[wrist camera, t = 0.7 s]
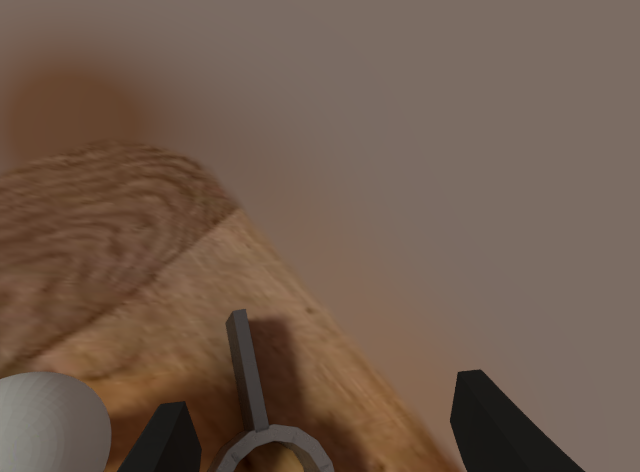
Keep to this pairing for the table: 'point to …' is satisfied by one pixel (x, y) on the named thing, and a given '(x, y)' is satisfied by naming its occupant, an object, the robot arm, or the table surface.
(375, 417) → the table surface
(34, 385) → the light bulb
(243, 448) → the hinge
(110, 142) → the table surface
